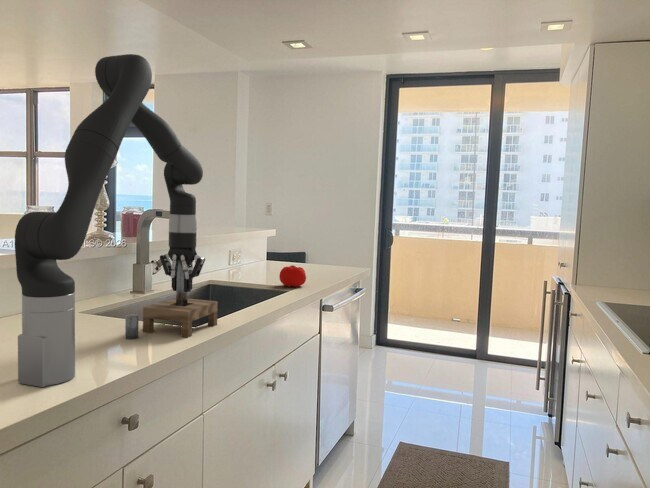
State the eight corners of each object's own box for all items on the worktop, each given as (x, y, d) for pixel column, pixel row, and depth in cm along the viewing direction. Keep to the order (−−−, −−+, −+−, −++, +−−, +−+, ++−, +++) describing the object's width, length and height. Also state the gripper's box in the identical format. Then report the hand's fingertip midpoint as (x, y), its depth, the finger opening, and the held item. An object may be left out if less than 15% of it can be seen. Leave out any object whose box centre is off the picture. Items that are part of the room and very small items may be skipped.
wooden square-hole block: (187, 337, 136) (188, 311, 136) (142, 332, 140) (143, 306, 140) (217, 324, 151) (217, 301, 151) (175, 320, 155) (176, 297, 155)
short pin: (133, 340, 132) (133, 317, 132) (122, 338, 133) (122, 315, 133) (140, 337, 135) (141, 314, 135) (130, 335, 136) (130, 313, 136)
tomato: (305, 288, 222) (305, 268, 221) (277, 287, 222) (278, 267, 222) (306, 284, 233) (307, 265, 232) (280, 283, 233) (280, 264, 232)
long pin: (183, 313, 144) (184, 260, 142) (173, 312, 144) (174, 260, 143) (189, 311, 147) (190, 259, 145) (179, 310, 148) (180, 259, 146)
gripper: (153, 230, 142) (152, 291, 143) (197, 232, 138) (196, 295, 139) (168, 229, 149) (168, 287, 151) (211, 231, 145) (210, 291, 147)
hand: (181, 290), depth 145 cm, fingers closed on long pin, 3 cm apart
